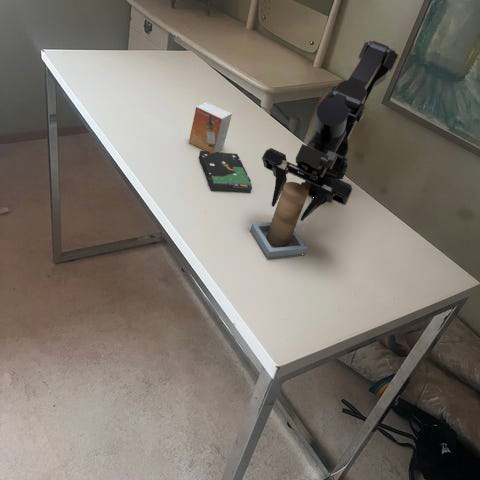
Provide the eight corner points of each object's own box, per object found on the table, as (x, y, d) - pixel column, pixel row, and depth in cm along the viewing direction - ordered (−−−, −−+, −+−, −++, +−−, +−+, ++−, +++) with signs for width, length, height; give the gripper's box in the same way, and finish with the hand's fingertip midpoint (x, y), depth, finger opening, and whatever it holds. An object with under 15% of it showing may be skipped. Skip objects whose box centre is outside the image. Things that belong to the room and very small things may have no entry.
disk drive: (197, 159, 118) (210, 193, 107) (199, 150, 116) (212, 182, 105) (234, 162, 121) (251, 194, 111) (237, 153, 120) (254, 184, 109)
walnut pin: (278, 231, 100) (296, 180, 93) (293, 244, 97) (313, 193, 90) (261, 236, 97) (279, 183, 90) (276, 250, 94) (296, 197, 87)
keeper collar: (285, 228, 103) (288, 221, 101) (304, 255, 97) (307, 248, 95) (249, 230, 99) (252, 223, 97) (267, 259, 93) (269, 251, 91)
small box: (188, 143, 122) (195, 106, 115) (199, 136, 126) (206, 100, 120) (213, 155, 120) (222, 118, 114) (223, 148, 124) (232, 112, 118)
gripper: (279, 109, 87) (240, 180, 85) (370, 149, 83) (331, 224, 81) (282, 134, 98) (247, 197, 96) (363, 170, 94) (328, 237, 92)
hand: (286, 213), depth 91 cm, fingers open, 6 cm apart
